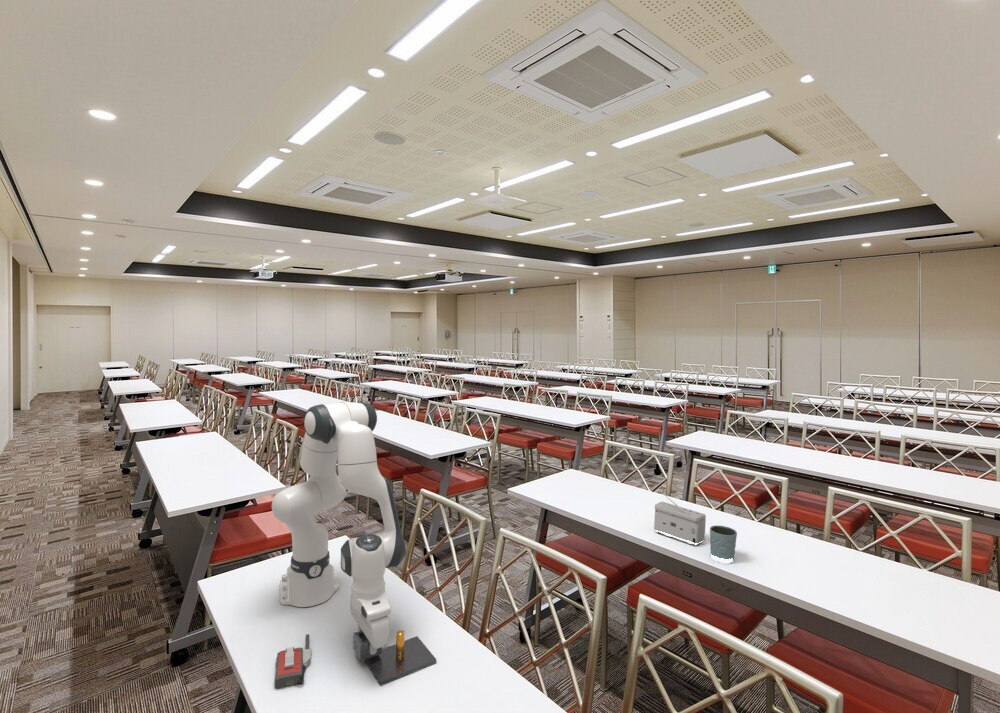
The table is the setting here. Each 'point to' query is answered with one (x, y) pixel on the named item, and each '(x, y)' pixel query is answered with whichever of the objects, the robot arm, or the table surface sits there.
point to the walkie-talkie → (292, 665)
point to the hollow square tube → (363, 646)
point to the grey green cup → (722, 541)
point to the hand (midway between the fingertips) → (367, 645)
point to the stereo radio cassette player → (679, 521)
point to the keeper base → (400, 667)
